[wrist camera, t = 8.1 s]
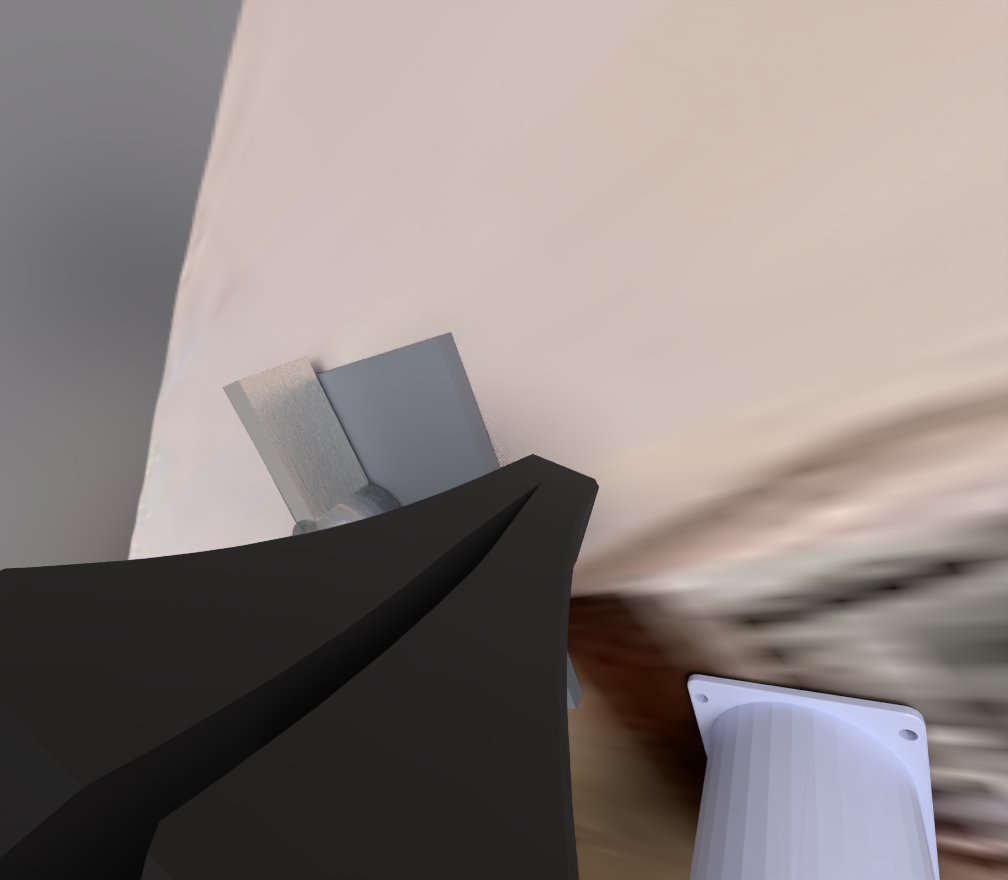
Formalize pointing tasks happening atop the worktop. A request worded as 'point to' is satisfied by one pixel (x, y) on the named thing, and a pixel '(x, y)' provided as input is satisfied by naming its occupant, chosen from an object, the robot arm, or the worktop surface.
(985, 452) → the worktop surface
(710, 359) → the worktop surface
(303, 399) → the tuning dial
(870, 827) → the robot arm
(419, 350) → the plate
